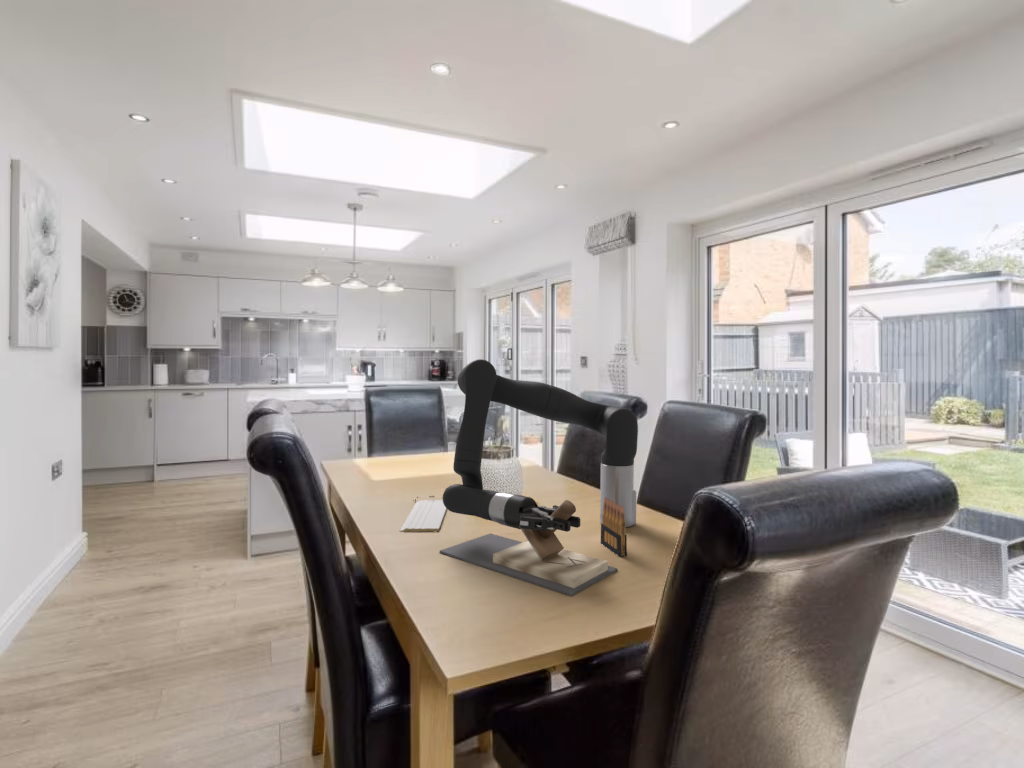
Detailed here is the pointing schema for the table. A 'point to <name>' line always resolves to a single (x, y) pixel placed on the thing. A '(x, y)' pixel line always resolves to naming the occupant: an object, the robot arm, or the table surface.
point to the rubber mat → (482, 555)
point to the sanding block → (549, 533)
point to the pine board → (552, 564)
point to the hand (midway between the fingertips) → (574, 524)
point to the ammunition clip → (614, 528)
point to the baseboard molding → (425, 516)
